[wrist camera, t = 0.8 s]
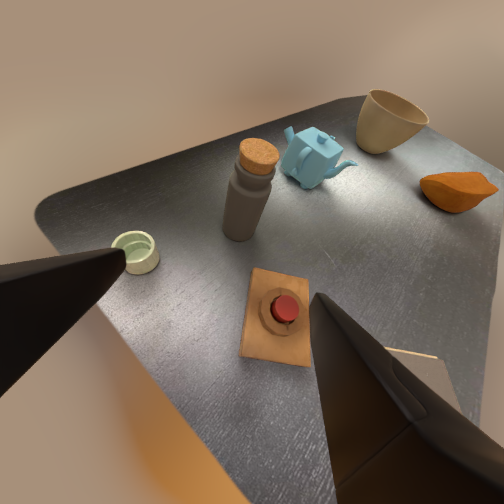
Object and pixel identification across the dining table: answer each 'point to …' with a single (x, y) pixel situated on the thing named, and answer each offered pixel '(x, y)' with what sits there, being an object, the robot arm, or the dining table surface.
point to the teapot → (312, 157)
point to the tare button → (285, 309)
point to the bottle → (249, 188)
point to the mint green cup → (138, 251)
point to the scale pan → (430, 374)
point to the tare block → (267, 327)
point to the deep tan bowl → (387, 121)
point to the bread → (457, 190)
